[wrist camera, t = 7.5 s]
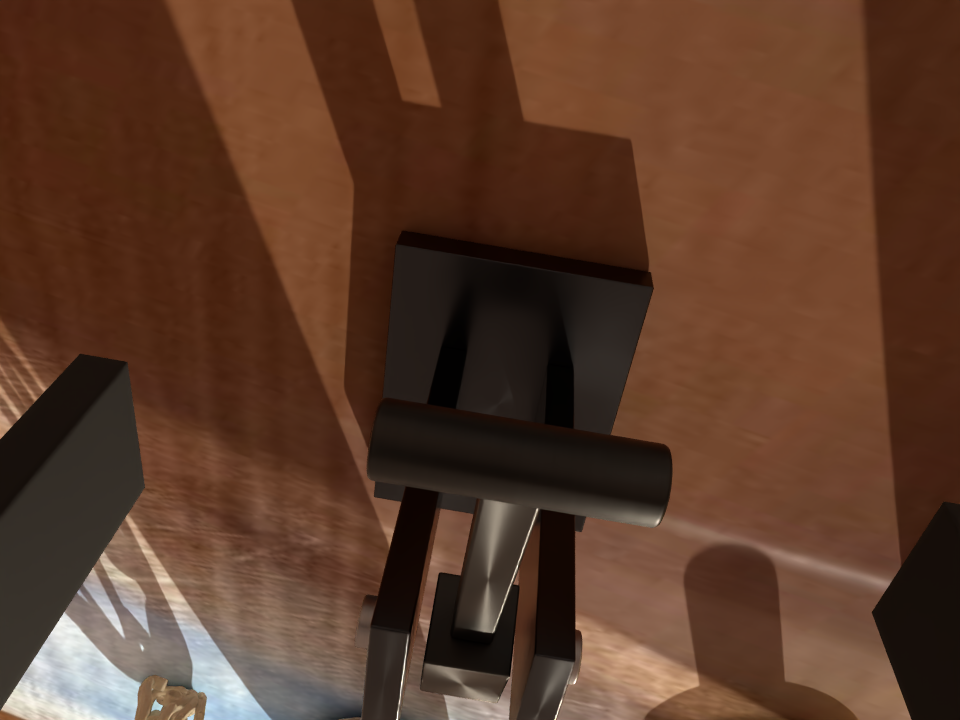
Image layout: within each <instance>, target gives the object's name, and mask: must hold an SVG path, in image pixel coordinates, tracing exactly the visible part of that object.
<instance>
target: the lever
mask: <svg viewBox="0 0 960 720" xmlns="http://www.w3.org/2000/svg"><path fill="white" fill-rule="evenodd" d="M367 476H368V478H369V479H370V480H372V481H378V482H384V483H390V484H396V485H402V486H408V487H414V488H420V489H426V490H432V491H438V492H443V493H449V494H455V495H461V496H467V497H473V498H477V500H476V505H475V509H474V514H473V519H472V524H471V529H470V533H469V538H468V543H467V548H466V553H465V557H464V562H463V567H462V572H461V576H460V575H454V574H448V573H442V572H441V573H439V575H438V581H437V587H436V592H435V598H434V604H433V610H432V615H431V621H430V627H429V633H428V638H427V644H426V650H425V656H424V661H423V669H422V676H421V683H420V690H421V691H426V692H432V693H438V694H444V695H450V696H456V697H462V698H468V699H473V700H479V701H485V702H491V703H497V702H498V700H499V698H500V696H501V694H502V692H503V690H504V688H505V685H506V683H507V681H508V679H509V677H510V672H511V663H512V654H513V645H514V636H515V627H516V618H517V609H518V600H519V591H520V587H519V586H518V585H513V583H514V581H515V578H516V575H517V572H518V570H519V567H520V564H521V561H522V558H523V556H524V553H525V550H526V547H527V545H528V542H529V539H530V536H531V533H532V531H533V528H534V525H535V522H536V520H537V517H538V514H539V511H540V509H544V510H550V511H556V512H562V513H568V514H574V515H580V516H585V517H591V518H597V519H603V520H609V521H615V522H621V523H627V524H633V525H639V526H645V527H651V528H653V527H657V526H658V525H659V524H660V523H661V521H662V519H663V517H664V515H665V512H666V509H667V506H668V502H669V498H670V492H671V485H672V457H671V452H670V449H669V448H668V447H667V446H666V445H664V444H660V443H654V442H648V441H643V440H637V439H631V438H625V437H619V436H613V435H607V434H601V433H595V432H589V431H583V430H577V429H571V428H565V427H560V426H554V425H548V424H542V423H536V422H530V421H524V420H518V419H512V418H506V417H500V416H494V415H488V414H482V413H477V412H471V411H465V410H459V409H453V408H447V407H441V406H435V405H429V404H423V403H417V402H411V401H405V400H399V399H394V398H388V397H386V398H383V399H382V400H381V402H380V403H379V405H378V408H377V411H376V414H375V418H374V422H373V426H372V431H371V436H370V442H369V448H368V456H367Z"/></svg>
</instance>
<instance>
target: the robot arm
mask: <svg viewBox="0 0 960 720" xmlns="http://www.w3.org/2000/svg"><path fill="white" fill-rule="evenodd" d="M144 488H145V484H144V477H143V470H142V463H141V455H140V448H139V441H138V434H137V427H136V420H135V413H134V406H133V398H132V391H131V384H130V377H129V370H128V363H127V362H125V361H119V360H114V359H108V358H102V357H96V356H90V355H84V354H79V355H78V357H77V358H76V359H75V360H74V361H73V362H72V363H71V364H70V365H69V366H68V367H67V368H66V369H65V370H64V372H63V373H62V374H61V375H60V376H59V377H58V378H57V379H56V380H55V381H54V382H53V383H52V384H51V385H50V387H49V388H48V389H47V390H46V391H45V392H44V393H43V394H42V395H41V396H40V397H39V398H38V399H37V401H36V402H35V403H34V404H33V405H32V406H31V407H30V408H29V409H28V410H27V411H26V412H25V413H24V414H23V416H22V417H21V418H20V419H19V420H18V421H17V422H16V423H15V424H14V425H13V426H12V427H11V428H10V429H9V431H8V432H7V433H6V434H5V435H4V436H3V437H2V438H1V439H0V710H1V709H2V707H3V706H4V704H5V703H6V701H7V699H8V698H9V696H10V695H11V693H12V692H13V690H14V689H15V687H16V686H17V684H18V683H19V681H20V679H21V678H22V676H23V675H24V673H25V672H26V670H27V669H28V667H29V666H30V664H31V662H32V661H33V659H34V658H35V656H36V655H37V653H38V652H39V650H40V649H41V647H42V645H43V644H44V642H45V641H46V639H47V638H48V636H49V635H50V633H51V632H52V630H53V628H54V627H55V625H56V624H57V622H58V621H59V619H60V618H61V616H62V615H63V613H64V612H65V610H66V608H67V607H68V605H69V604H70V602H71V601H72V599H73V598H74V596H75V595H76V593H77V591H78V590H79V588H80V587H81V585H82V584H83V582H84V581H85V579H86V578H87V576H88V574H89V573H90V571H91V570H92V568H93V567H94V565H95V564H96V562H97V561H98V559H99V557H100V556H101V554H102V553H103V551H104V550H105V548H106V547H107V545H108V544H109V542H110V541H111V539H112V537H113V536H114V534H115V533H116V531H117V530H118V528H119V527H120V525H121V524H122V522H123V520H124V519H125V517H126V516H127V514H128V513H129V511H130V510H131V508H132V507H133V505H134V503H135V502H136V500H137V499H138V497H139V496H140V494H141V493H142V491H143V490H144ZM872 614H873V617H874V620H875V622H876V625H877V628H878V630H879V633H880V636H881V639H882V641H883V644H884V647H885V649H886V652H887V655H888V657H889V660H890V663H891V665H892V668H893V671H894V673H895V676H896V679H897V682H898V684H899V687H900V690H901V692H902V695H903V698H904V700H905V703H906V706H907V708H908V711H909V714H910V716H911V719H912V720H960V504H955V503H949V502H943V503H942V505H941V506H940V508H939V510H938V511H937V513H936V514H935V516H934V517H933V519H932V520H931V522H930V523H929V525H928V527H927V528H926V530H925V531H924V533H923V534H922V536H921V537H920V539H919V540H918V542H917V543H916V545H915V547H914V548H913V550H912V551H911V553H910V554H909V556H908V557H907V559H906V560H905V562H904V563H903V565H902V567H901V568H900V570H899V571H898V573H897V574H896V576H895V577H894V579H893V580H892V582H891V583H890V585H889V587H888V588H887V590H886V591H885V593H884V594H883V596H882V597H881V599H880V600H879V602H878V604H877V605H876V607H875V608H874V610H873V611H872Z"/></svg>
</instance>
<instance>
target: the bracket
mask: <svg viewBox="0 0 960 720" xmlns="http://www.w3.org/2000/svg"><path fill="white" fill-rule="evenodd" d="M653 289H654V287H653V282H652V276H651V272H646V271H640V270H634V269H628V268H622V267H616V266H610V265H605V264H599V263H593V262H587V261H581V260H575V259H569V258H563V257H557V256H551V255H545V254H539V253H533V252H527V251H521V250H515V249H509V248H503V247H497V246H491V245H485V244H480V243H474V242H468V241H462V240H456V239H450V238H444V237H438V236H432V235H426V234H420V233H414V232H408V231H402V232H401V234H400V236H399V239H398V241H397V243H396V248H395V259H394V271H393V282H392V294H391V306H390V317H389V329H388V340H387V352H386V363H385V375H384V386H383V398H386V397H388V398H394V399H399V400H405V401H411V402H417V403H423V404H429V405H435V406H441V407H447V408H453V409H459V410H465V411H471V412H477V413H482V414H488V415H494V416H500V417H506V418H512V419H518V420H524V421H530V422H536V423H542V424H548V425H554V426H560V427H565V428H571V429H577V430H583V431H589V432H595V433H601V434H607V435H610V434H611V431H612V428H613V424H614V421H615V418H616V414H617V411H618V407H619V404H620V401H621V397H622V394H623V390H624V387H625V384H626V380H627V377H628V374H629V370H630V367H631V363H632V360H633V357H634V353H635V350H636V346H637V343H638V340H639V336H640V333H641V329H642V326H643V323H644V319H645V316H646V313H647V309H648V306H649V302H650V299H651V296H652V292H653ZM383 398H382V399H383ZM374 497H376V498H382V499H388V500H394V501H400V502H401V506H400V510H399V514H398V517H397V521H396V525H395V529H394V533H393V537H392V541H391V545H390V549H389V553H388V557H387V561H386V565H385V569H384V573H383V577H382V580H381V584H380V588H379V592H378V596H374V595H365V597H364V599H363V602H362V606H361V610H360V614H359V619H358V624H357V629H356V636H355V647H357V648H361V649H367V650H368V651H367V662H366V673H365V683H364V694H363V704H362V715H361V720H400V715H401V709H402V704H403V699H404V694H405V689H406V684H407V678H408V673H409V668H410V663H411V658H412V653H413V647H414V642H415V637H416V632H417V627H418V622H419V616H420V611H421V606H422V601H423V596H424V591H425V586H426V580H427V575H428V570H429V565H430V560H431V555H432V549H433V544H434V539H435V534H436V529H437V524H438V518H439V513H440V508H442V509H447V510H453V511H459V512H465V513H471V514H474V509H475V505H476V500H477V498H473V497H467V496H461V495H455V494H449V493H443V492H438V491H432V490H426V489H420V488H414V487H408V486H402V485H396V484H390V483H384V482H378V481H375V490H374ZM585 519H586V517H585V516H580V515H574V514H568V513H562V512H556V511H550V510H544V509H540V511H539V514H538V517H537V520H536V522H535V525H534V528H533V531H532V533H531V536H530V539H529V542H528V545H527V547H526V550H525V553H524V556H523V558H522V561H521V564H520V569H519V584H518V586H519V587H520V591H519V600H518V609H517V618H516V627H515V641H514V655H513V669H512V683H511V698H510V712H509V720H556V719H557V716H558V713H559V710H560V707H561V704H562V701H563V698H564V695H565V692H566V689H567V686H568V684H575V683H576V681H577V678H578V675H579V671H580V665H581V658H582V635H581V632H580V631H579V630H575V531H578V532H582V529H583V526H584V523H585Z"/></svg>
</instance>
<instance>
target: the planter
mask: <svg viewBox="0 0 960 720" xmlns="http://www.w3.org/2000/svg"><path fill="white" fill-rule="evenodd" d="M338 720H361V717H356V718H344V719H338Z"/></svg>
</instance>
